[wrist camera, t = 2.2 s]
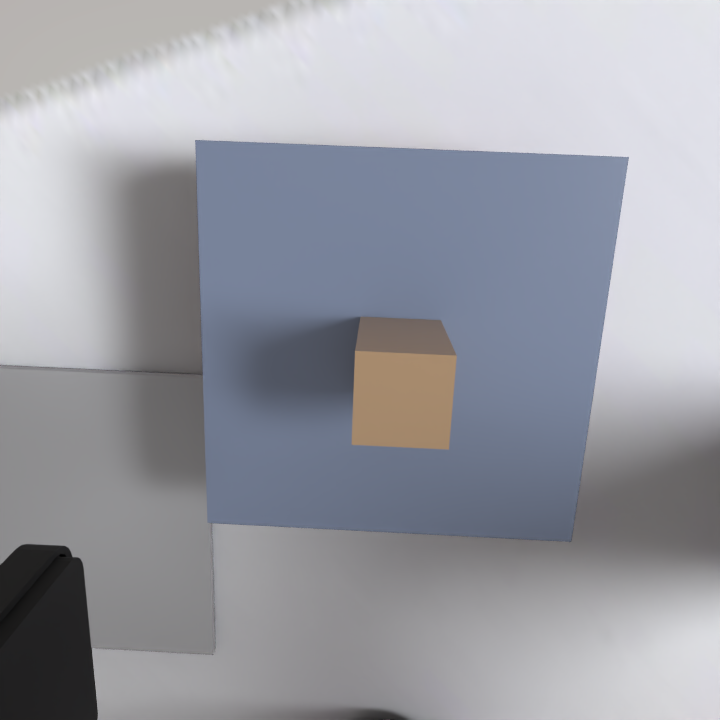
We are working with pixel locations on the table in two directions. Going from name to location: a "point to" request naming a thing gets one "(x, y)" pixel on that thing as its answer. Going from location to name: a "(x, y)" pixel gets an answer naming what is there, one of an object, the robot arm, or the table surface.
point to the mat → (114, 496)
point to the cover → (401, 334)
